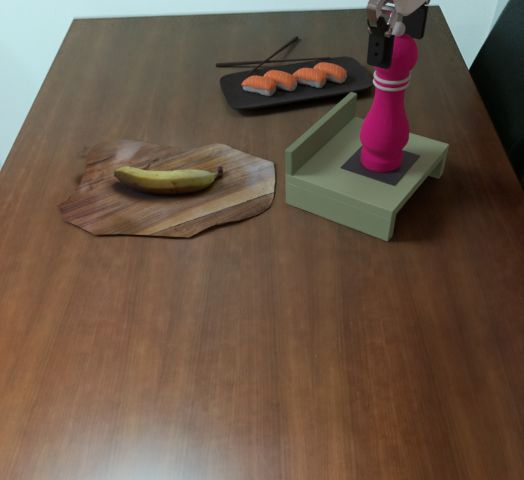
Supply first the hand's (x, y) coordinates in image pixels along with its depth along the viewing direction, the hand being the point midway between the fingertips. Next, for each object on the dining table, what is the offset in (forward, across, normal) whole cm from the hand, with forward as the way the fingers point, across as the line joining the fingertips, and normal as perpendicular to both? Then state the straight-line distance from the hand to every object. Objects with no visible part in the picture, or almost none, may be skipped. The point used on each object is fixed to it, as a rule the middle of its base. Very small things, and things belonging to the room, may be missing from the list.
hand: (395, 51), depth 77 cm
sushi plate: (+22, +27, +35) cm, 50 cm away
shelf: (+22, 0, +2) cm, 22 cm away
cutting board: (+22, -16, +30) cm, 41 cm away
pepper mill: (+17, 0, 0) cm, 17 cm away
